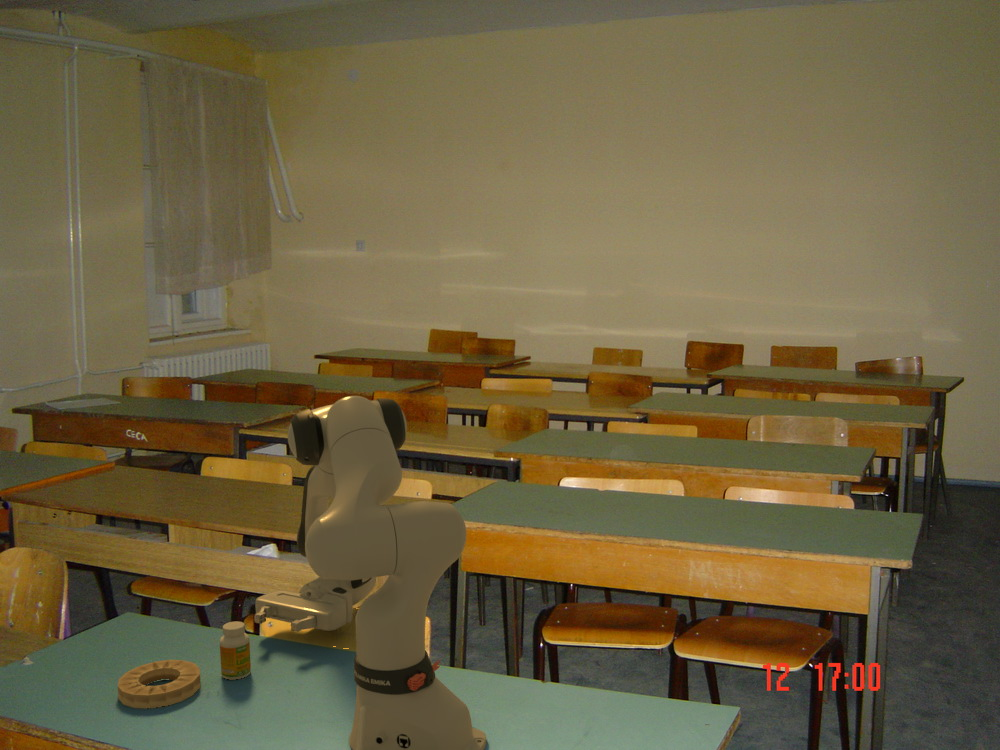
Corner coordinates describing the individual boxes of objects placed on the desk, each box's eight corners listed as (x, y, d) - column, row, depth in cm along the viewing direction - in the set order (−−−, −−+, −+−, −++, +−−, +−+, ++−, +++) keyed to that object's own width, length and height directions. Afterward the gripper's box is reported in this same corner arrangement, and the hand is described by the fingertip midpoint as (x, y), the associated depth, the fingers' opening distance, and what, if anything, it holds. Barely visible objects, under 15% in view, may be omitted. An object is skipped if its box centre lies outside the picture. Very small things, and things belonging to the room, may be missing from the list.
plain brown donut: (216, 681, 173) (216, 669, 172) (157, 715, 160) (156, 701, 160) (163, 666, 179) (162, 654, 179) (101, 697, 167) (100, 684, 166)
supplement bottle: (239, 682, 172) (236, 632, 171) (215, 678, 174) (212, 628, 173) (256, 670, 177) (254, 621, 176) (233, 666, 179) (231, 618, 178)
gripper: (280, 578, 201) (235, 599, 189) (357, 593, 191) (314, 617, 179) (282, 606, 202) (236, 629, 190) (358, 622, 192) (315, 648, 180)
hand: (275, 623), depth 184 cm, fingers open, 8 cm apart
